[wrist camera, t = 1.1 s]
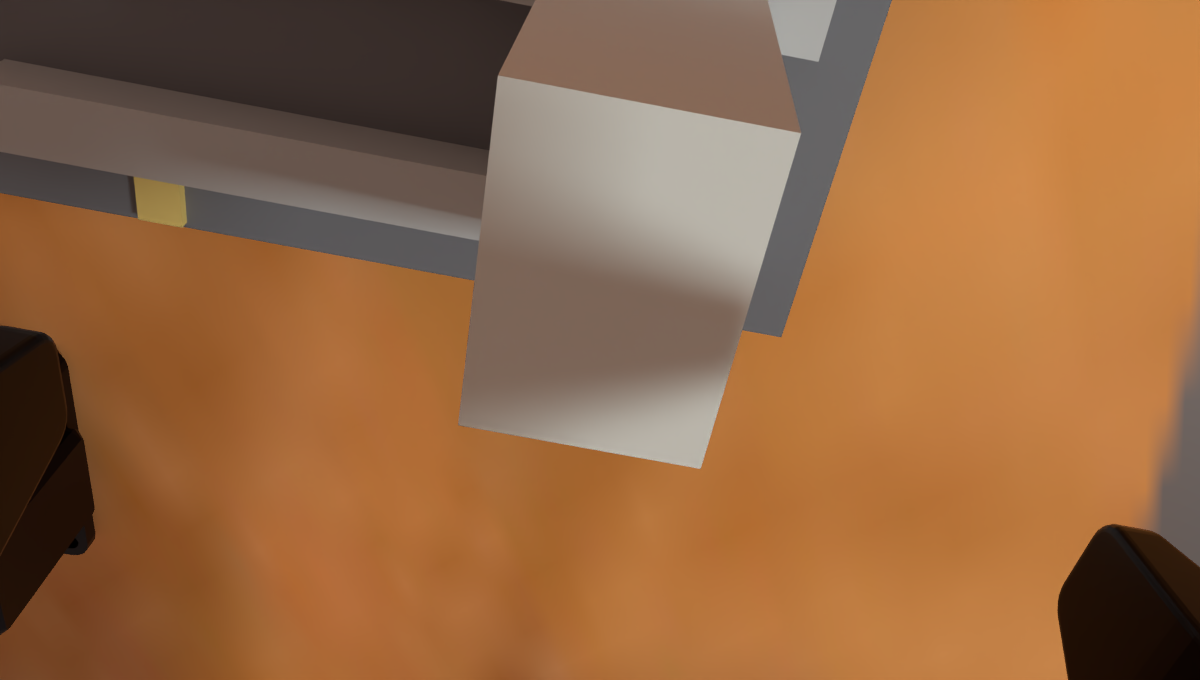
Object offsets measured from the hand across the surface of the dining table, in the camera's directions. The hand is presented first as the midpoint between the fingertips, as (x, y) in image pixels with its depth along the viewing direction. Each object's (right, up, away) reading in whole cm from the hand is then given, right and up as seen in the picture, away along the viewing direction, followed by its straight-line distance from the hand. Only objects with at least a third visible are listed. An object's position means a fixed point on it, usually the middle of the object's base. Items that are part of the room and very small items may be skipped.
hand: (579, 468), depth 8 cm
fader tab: (+1, +5, +8) cm, 9 cm away
